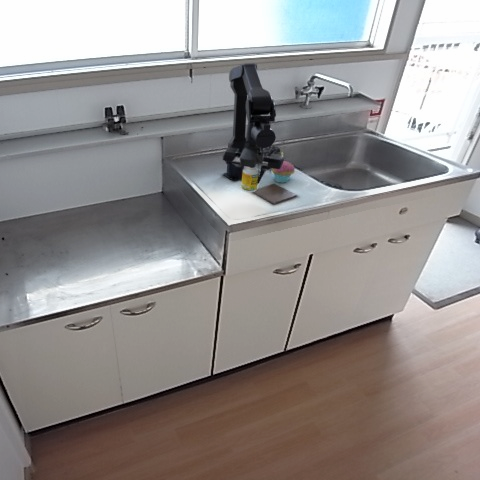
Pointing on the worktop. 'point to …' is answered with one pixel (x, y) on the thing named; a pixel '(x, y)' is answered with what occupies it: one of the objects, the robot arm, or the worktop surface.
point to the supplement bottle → (250, 179)
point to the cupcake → (283, 171)
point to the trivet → (274, 193)
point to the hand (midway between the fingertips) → (249, 181)
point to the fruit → (271, 151)
